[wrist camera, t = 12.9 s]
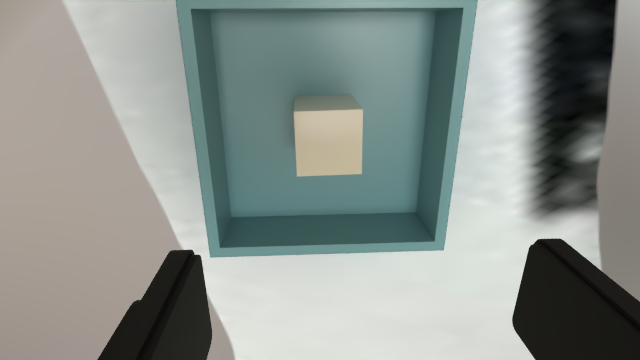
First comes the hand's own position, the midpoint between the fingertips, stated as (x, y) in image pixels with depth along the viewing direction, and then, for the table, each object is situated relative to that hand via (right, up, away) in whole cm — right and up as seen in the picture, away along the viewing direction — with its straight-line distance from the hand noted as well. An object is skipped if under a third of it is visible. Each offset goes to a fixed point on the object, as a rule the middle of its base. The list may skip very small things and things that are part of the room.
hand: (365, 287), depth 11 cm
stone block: (-1, +8, +19) cm, 21 cm away
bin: (-1, +8, +20) cm, 22 cm away
